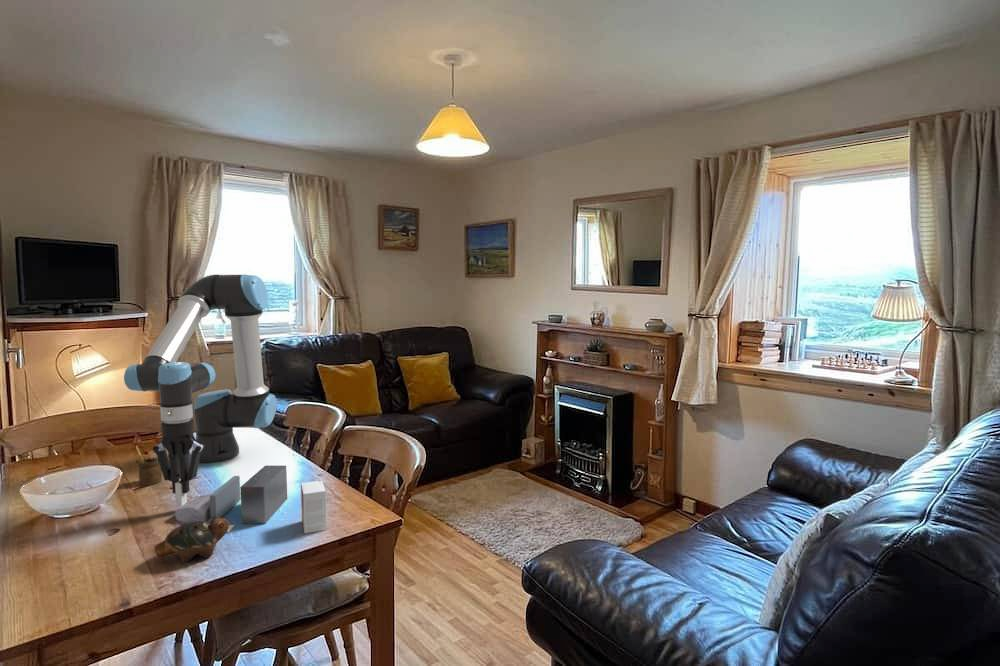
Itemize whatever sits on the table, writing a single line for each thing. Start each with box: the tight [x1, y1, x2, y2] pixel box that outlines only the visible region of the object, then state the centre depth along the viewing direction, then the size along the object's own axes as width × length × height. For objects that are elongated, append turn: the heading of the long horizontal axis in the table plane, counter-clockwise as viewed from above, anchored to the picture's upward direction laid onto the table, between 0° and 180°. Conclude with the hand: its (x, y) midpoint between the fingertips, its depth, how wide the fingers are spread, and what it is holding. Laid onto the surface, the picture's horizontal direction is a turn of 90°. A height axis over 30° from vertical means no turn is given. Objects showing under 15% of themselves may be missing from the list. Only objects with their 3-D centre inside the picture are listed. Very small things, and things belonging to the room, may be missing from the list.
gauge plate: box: [206, 475, 241, 524], centre depth 148 cm, size 19×2×7 cm, turn 1°
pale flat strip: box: [226, 524, 235, 533], centre depth 140 cm, size 3×10×1 cm, turn 91°
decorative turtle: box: [154, 517, 230, 563], centre depth 126 cm, size 10×15×8 cm, turn 123°
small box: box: [300, 480, 328, 535], centre depth 142 cm, size 8×6×10 cm
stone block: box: [174, 493, 212, 523], centre depth 149 cm, size 12×5×10 cm
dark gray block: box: [240, 465, 288, 525], centre depth 150 cm, size 16×6×10 cm, turn 1°
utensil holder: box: [135, 445, 163, 486], centre depth 170 cm, size 6×6×12 cm
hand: (181, 504), depth 150 cm, fingers closed
